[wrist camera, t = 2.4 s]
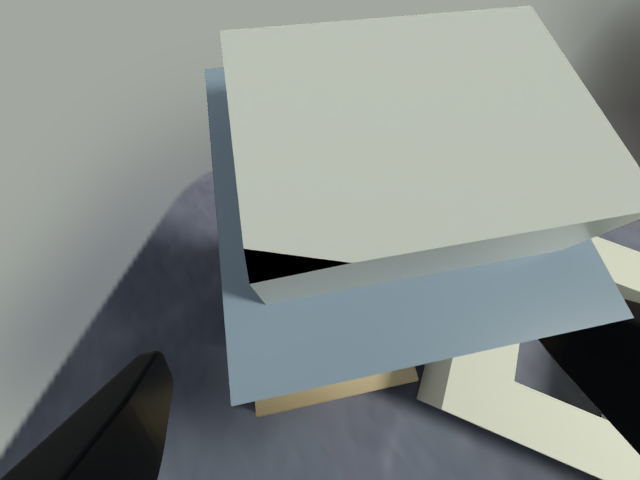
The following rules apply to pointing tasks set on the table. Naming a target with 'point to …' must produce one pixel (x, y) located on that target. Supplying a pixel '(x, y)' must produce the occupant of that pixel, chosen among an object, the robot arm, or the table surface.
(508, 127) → the plug
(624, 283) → the block
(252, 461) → the table surface
